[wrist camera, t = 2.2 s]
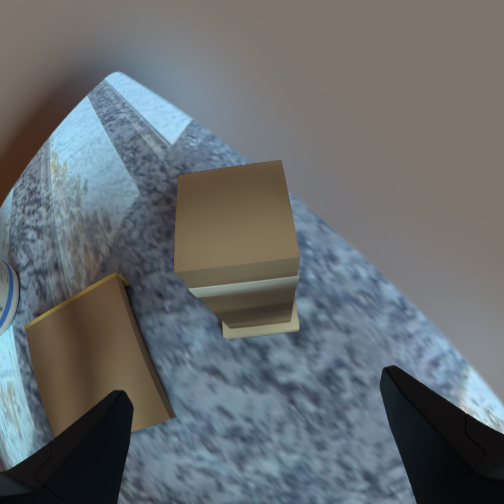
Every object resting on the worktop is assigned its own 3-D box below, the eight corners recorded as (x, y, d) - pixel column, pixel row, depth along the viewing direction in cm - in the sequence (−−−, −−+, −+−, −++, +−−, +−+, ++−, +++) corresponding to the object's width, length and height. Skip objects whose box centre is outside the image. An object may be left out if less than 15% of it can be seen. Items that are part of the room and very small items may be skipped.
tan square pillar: (298, 331, 21) (318, 270, 10) (226, 339, 22) (159, 288, 10) (289, 264, 24) (292, 149, 12) (222, 272, 24) (167, 168, 12)
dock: (75, 448, 18) (59, 451, 16) (40, 331, 23) (24, 325, 21) (182, 414, 19) (171, 417, 17) (129, 281, 24) (115, 271, 22)
